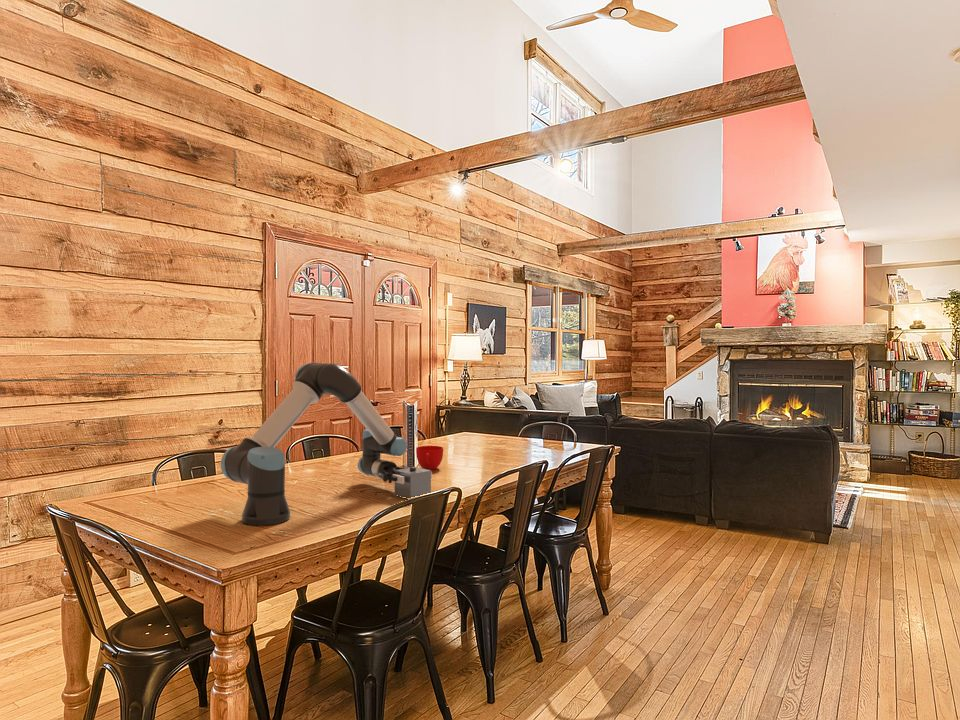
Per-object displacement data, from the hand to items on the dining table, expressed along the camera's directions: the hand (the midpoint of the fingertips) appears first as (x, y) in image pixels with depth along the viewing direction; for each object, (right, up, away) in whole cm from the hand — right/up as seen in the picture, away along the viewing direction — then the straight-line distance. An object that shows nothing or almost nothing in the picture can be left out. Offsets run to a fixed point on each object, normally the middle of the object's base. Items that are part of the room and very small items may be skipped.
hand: (417, 477), depth 234 cm
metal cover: (-2, -7, +2) cm, 8 cm away
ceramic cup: (0, -7, +54) cm, 55 cm away
